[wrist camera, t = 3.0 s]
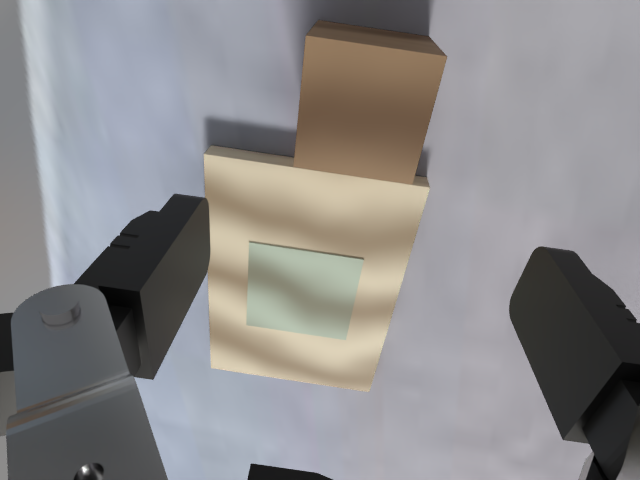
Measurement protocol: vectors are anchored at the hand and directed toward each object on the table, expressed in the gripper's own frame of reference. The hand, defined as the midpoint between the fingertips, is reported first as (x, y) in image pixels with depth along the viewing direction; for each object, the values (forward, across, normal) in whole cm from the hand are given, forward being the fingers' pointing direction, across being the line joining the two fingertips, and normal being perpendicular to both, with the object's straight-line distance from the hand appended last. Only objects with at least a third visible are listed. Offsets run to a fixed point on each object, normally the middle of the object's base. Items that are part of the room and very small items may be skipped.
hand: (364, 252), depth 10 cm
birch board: (+17, +2, +15) cm, 22 cm away
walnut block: (+17, 0, 0) cm, 17 cm away
